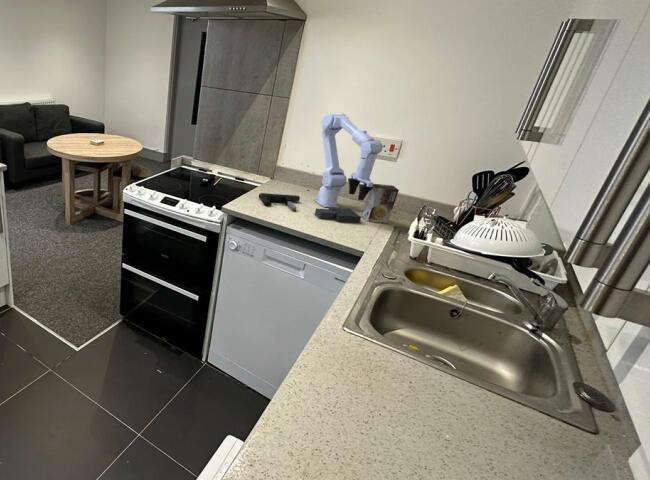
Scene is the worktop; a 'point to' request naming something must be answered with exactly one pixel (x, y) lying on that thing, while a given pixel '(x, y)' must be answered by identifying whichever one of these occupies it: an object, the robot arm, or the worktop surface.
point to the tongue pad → (325, 213)
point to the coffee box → (380, 203)
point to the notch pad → (346, 215)
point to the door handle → (279, 199)
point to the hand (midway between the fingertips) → (355, 197)
